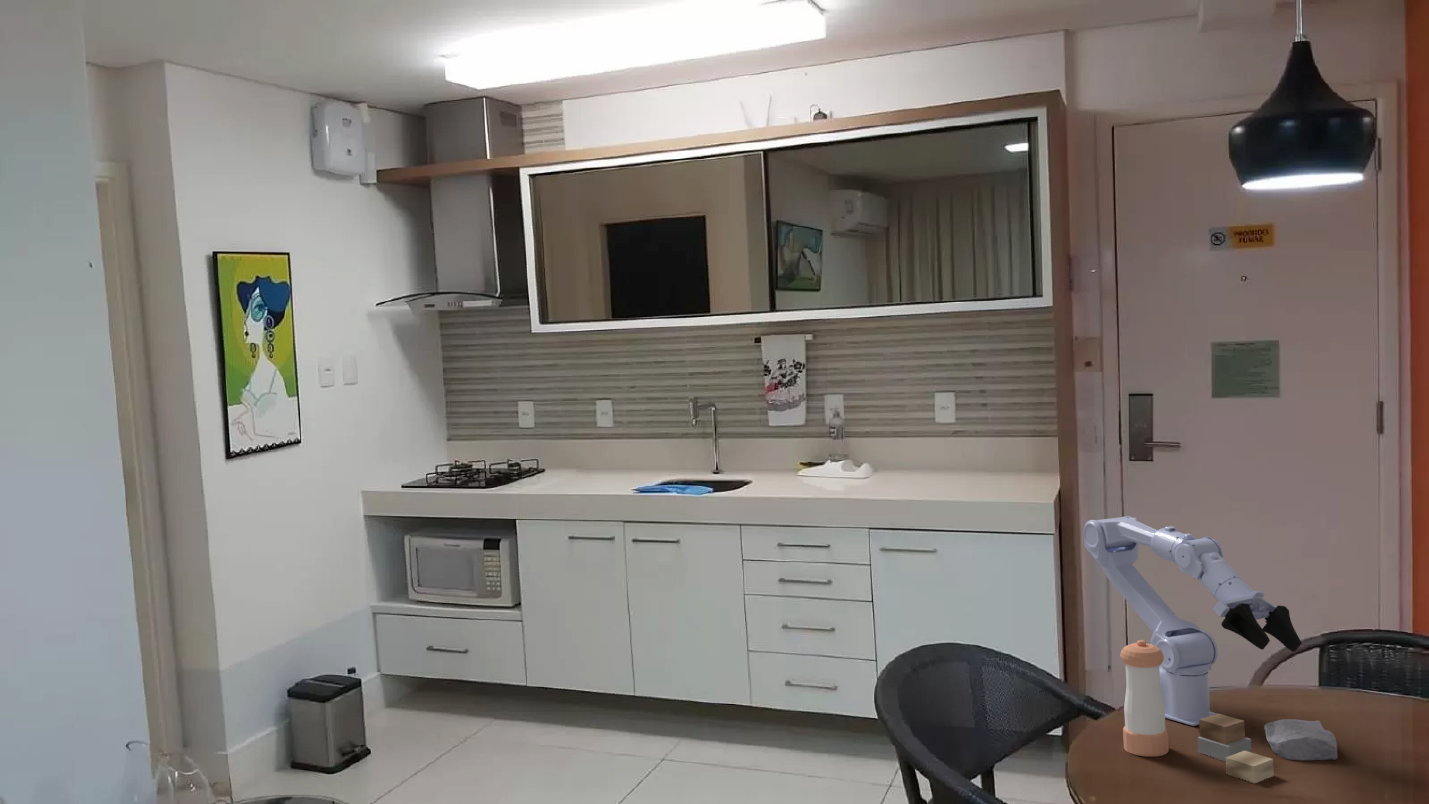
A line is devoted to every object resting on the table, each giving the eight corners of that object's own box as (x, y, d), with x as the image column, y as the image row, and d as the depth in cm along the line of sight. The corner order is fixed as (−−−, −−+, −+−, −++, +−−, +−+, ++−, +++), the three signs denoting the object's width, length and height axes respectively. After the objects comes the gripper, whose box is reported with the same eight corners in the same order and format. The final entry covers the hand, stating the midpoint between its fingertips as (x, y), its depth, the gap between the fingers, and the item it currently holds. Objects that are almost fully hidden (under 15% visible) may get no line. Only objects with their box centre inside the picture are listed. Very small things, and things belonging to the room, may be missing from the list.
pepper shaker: (1175, 747, 194) (1170, 638, 193) (1159, 759, 188) (1154, 648, 188) (1133, 739, 199) (1128, 633, 198) (1117, 751, 193) (1112, 642, 192)
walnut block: (1200, 736, 191) (1199, 719, 191) (1219, 730, 193) (1218, 713, 193) (1225, 744, 186) (1225, 727, 186) (1244, 738, 189) (1244, 720, 189)
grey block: (1197, 754, 191) (1197, 737, 190) (1220, 746, 194) (1219, 729, 193) (1229, 764, 185) (1228, 747, 185) (1251, 756, 188) (1251, 739, 188)
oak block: (1226, 775, 181) (1225, 757, 181) (1245, 768, 183) (1244, 750, 183) (1254, 785, 176) (1253, 766, 176) (1273, 777, 179) (1273, 759, 179)
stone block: (1281, 771, 185) (1345, 760, 183) (1273, 743, 185) (1337, 732, 183) (1261, 748, 197) (1321, 738, 195) (1254, 722, 197) (1314, 711, 195)
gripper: (1212, 569, 191) (1264, 626, 180) (1271, 575, 197) (1325, 631, 186) (1190, 599, 194) (1240, 657, 183) (1248, 604, 200) (1300, 661, 189)
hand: (1281, 646), depth 185 cm, fingers open, 7 cm apart
